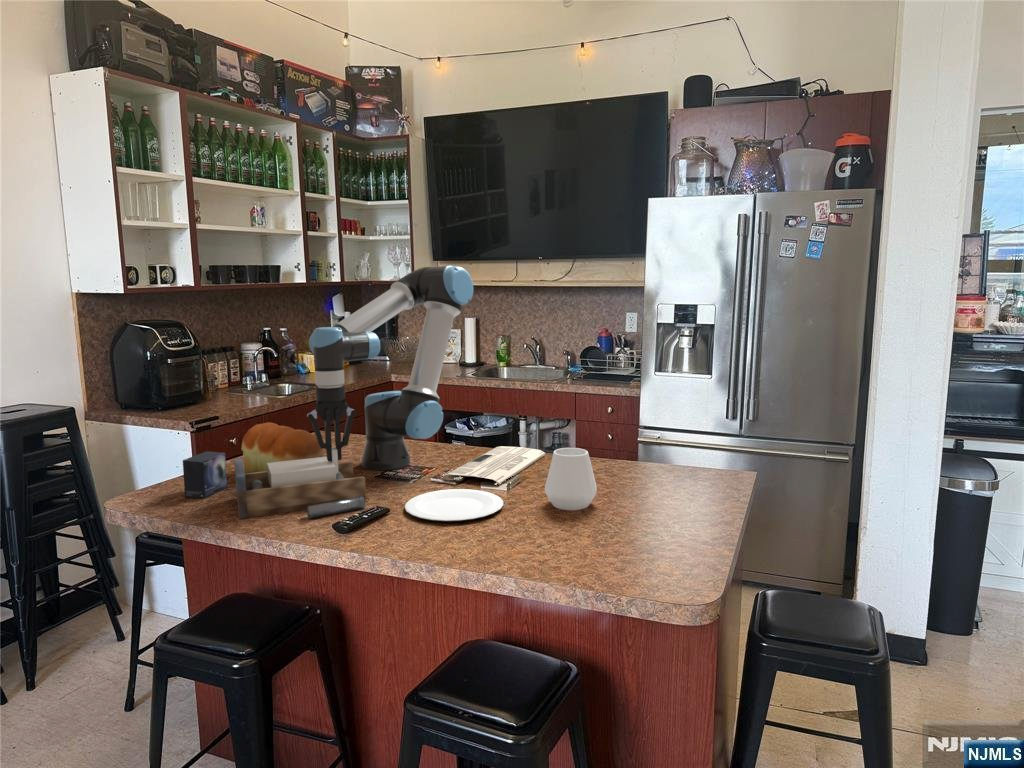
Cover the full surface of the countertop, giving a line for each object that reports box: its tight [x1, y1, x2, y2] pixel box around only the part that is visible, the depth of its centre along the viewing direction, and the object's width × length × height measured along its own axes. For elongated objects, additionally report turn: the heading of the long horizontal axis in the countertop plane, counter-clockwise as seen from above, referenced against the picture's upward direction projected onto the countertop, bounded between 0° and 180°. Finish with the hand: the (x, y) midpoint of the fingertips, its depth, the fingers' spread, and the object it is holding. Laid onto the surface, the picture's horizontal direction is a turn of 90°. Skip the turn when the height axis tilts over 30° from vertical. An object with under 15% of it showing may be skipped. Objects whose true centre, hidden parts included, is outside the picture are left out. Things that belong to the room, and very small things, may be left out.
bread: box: [240, 421, 325, 473], centre depth 206 cm, size 25×12×15 cm, turn 49°
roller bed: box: [233, 458, 367, 519], centre depth 183 cm, size 31×18×10 cm, turn 113°
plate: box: [404, 488, 504, 523], centre depth 175 cm, size 25×25×2 cm
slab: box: [267, 456, 336, 487], centre depth 182 cm, size 16×12×4 cm
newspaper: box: [443, 445, 546, 485], centre depth 213 cm, size 37×19×3 cm, turn 157°
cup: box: [544, 447, 598, 511], centre depth 176 cm, size 13×13×14 cm
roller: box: [306, 496, 366, 519], centre depth 172 cm, size 14×3×3 cm, turn 123°
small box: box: [182, 450, 228, 499], centre depth 190 cm, size 11×6×10 cm, turn 168°
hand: (335, 472), depth 186 cm, fingers closed
